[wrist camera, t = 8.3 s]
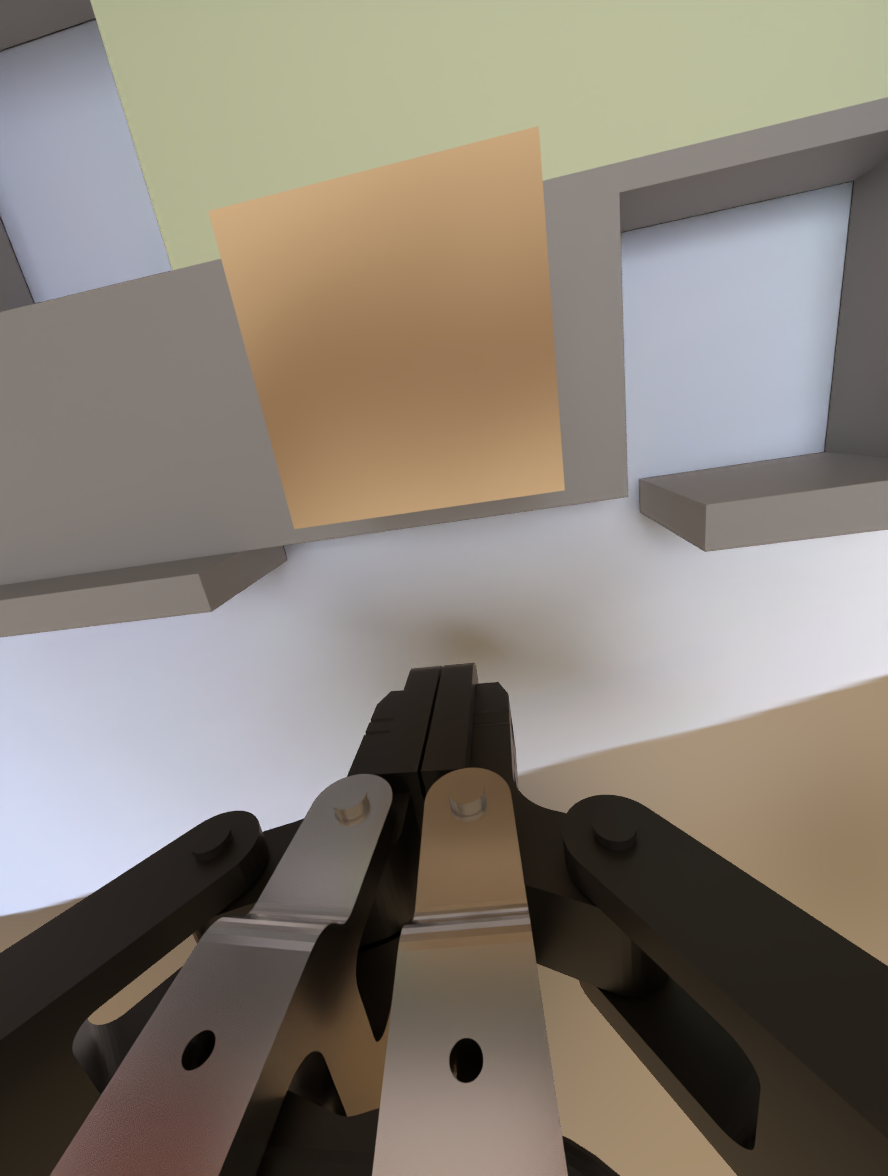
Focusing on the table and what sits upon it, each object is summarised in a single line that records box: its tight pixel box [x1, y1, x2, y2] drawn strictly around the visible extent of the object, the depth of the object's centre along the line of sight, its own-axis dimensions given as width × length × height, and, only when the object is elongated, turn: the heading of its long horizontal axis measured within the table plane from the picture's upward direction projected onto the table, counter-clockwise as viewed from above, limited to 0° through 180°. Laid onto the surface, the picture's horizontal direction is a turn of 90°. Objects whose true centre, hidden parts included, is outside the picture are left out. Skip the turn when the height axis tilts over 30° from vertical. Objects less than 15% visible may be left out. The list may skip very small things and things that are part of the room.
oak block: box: [208, 126, 565, 529], centre depth 9 cm, size 4×4×4 cm
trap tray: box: [0, 0, 888, 637], centre depth 10 cm, size 15×27×6 cm, turn 99°
